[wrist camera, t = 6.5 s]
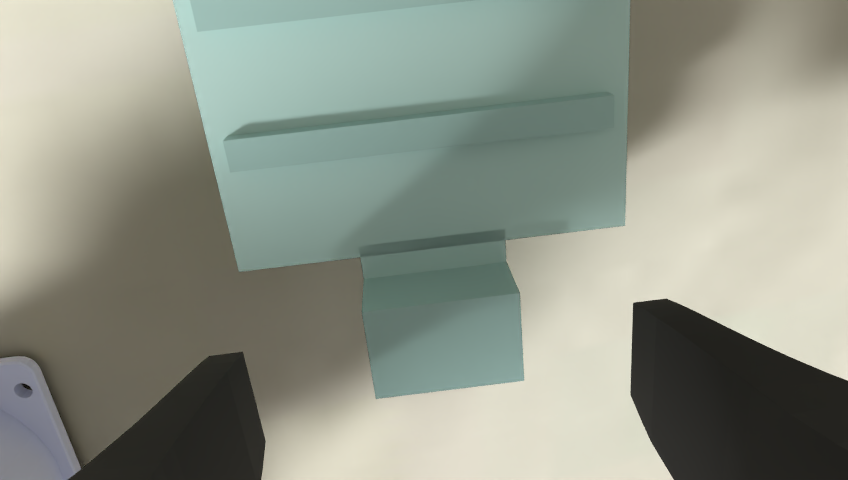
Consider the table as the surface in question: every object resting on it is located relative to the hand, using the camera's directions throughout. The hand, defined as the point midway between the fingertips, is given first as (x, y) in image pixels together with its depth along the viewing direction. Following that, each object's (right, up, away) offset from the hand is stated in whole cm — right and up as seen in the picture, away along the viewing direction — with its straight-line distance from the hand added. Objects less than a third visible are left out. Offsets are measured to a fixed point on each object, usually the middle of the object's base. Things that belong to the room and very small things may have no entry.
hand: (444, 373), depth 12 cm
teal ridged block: (-1, +7, +4) cm, 8 cm away
